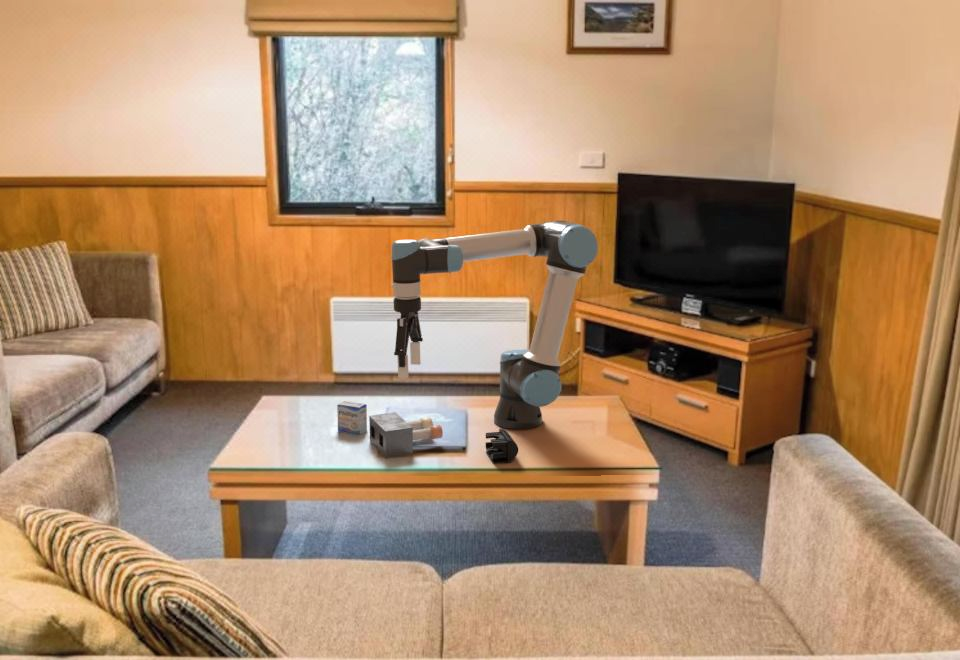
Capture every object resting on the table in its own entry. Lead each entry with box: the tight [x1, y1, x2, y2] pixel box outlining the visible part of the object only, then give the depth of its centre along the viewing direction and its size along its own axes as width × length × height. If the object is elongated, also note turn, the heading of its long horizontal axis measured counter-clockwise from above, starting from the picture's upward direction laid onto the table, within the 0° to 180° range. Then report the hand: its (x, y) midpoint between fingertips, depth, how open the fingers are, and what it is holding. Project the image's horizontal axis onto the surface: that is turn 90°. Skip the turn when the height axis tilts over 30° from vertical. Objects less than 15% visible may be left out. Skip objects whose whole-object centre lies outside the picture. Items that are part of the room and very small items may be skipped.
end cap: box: [485, 428, 519, 465], centre depth 240 cm, size 10×7×7 cm
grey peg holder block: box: [368, 411, 414, 459], centre depth 246 cm, size 8×14×8 cm, turn 25°
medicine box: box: [336, 400, 368, 436], centre depth 259 cm, size 8×4×9 cm, turn 68°
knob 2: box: [413, 424, 444, 441], centre depth 245 cm, size 15×4×4 cm, turn 115°
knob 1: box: [406, 416, 434, 431], centre depth 252 cm, size 15×4×4 cm, turn 115°
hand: (409, 370), depth 240 cm, fingers open, 13 cm apart
